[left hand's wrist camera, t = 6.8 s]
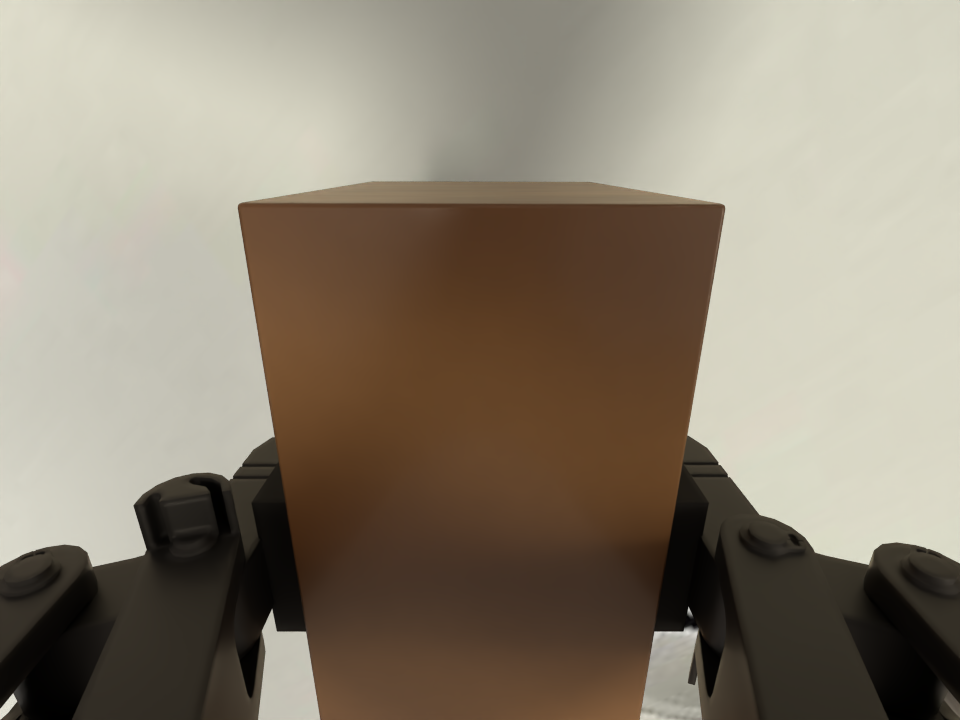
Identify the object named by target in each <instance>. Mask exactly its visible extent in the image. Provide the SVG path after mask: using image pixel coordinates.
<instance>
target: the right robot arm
mask: <svg viewBox="0 0 960 720" xmlns="http://www.w3.org/2000/svg"><path fill="white" fill-rule="evenodd" d="M944 700H945V702H946V703H947V704H948V705H949V707H950V708H951V709H952V710H953V711H954V712H955V713H956V714H957V715H958V716H959V717H960V704H959V702H958V701H957V700H956V699H955V698H954V696H953V695H952V694H951V693H950V692H949V690H948V692H947V695H946V697H945V699H944Z"/></svg>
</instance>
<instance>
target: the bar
mask: <svg viewBox="0 0 960 720" xmlns="http://www.w3.org/2000/svg"><path fill="white" fill-rule="evenodd" d="M238 212H239V218H240V224H241V230H242V237H243V243H244V249H245V255H246V261H247V268H248V274H249V280H250V286H251V292H252V298H253V305H254V311H255V317H256V323H257V329H258V336H259V342H260V348H261V354H262V360H263V367H264V373H265V379H266V385H267V391H268V398H269V404H270V410H271V416H272V422H273V428H274V435H275V441H276V447H277V453H278V459H279V466H280V472H281V478H282V484H283V490H284V497H285V503H286V509H287V515H288V521H289V528H290V534H291V540H292V546H293V552H294V559H295V565H296V571H297V577H298V583H299V589H300V596H301V602H302V608H303V614H304V620H305V627H306V633H307V639H308V645H309V651H310V658H311V664H312V670H313V676H314V682H315V689H316V695H317V701H318V707H319V713H320V719H321V720H639V719H640V713H641V707H642V701H643V695H644V689H645V683H646V678H647V672H648V666H649V660H650V654H651V648H652V642H653V636H654V630H655V624H656V618H657V612H658V606H659V600H660V594H661V588H662V582H663V576H664V570H665V564H666V558H667V552H668V547H669V541H670V535H671V529H672V523H673V517H674V511H675V505H676V499H677V493H678V487H679V481H680V475H681V469H682V463H683V457H684V451H685V445H686V439H687V433H688V427H689V422H690V416H691V410H692V404H693V398H694V392H695V386H696V380H697V374H698V368H699V362H700V356H701V350H702V344H703V338H704V332H705V326H706V320H707V314H708V308H709V302H710V296H711V291H712V285H713V279H714V273H715V267H716V261H717V255H718V249H719V243H720V237H721V231H722V225H723V219H724V213H725V206H724V205H722V204H719V203H713V202H707V201H701V200H695V199H689V198H683V197H677V196H671V195H665V194H659V193H653V192H647V191H641V190H635V189H628V188H622V187H616V186H610V185H604V184H598V183H592V182H367V183H360V184H354V185H348V186H342V187H336V188H330V189H323V190H317V191H311V192H305V193H299V194H293V195H286V196H280V197H274V198H268V199H262V200H255V201H249V202H243V203H240V204H239V205H238Z"/></svg>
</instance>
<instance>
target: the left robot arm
mask: <svg viewBox="0 0 960 720" xmlns="http://www.w3.org/2000/svg"><path fill="white" fill-rule="evenodd" d="M134 509H135V512H136V515H137V519H138V522H139V525H140V529H141V532H142V535H143V538H144V542H145V545H146V548H147V551H146V553H145V555H144V556H140V557H136V558H132V559H128V560H123V561H118V562H114V563H109V564H105V565H100V566H95V567H92V565H91V562H90V559H89V556H88V553H87V552H86V551H84V550H83V549H82V548H81V547H79V546H71V545H59V546H52V547H46V548H42V549H39V550H36V551H32V552H29V553H26V554H24V555H22V556H20V557H18V558H16V559H14V560H12V561H10V562H8V563H6V564H4V565H2V566H1V567H0V708H1V707H2V706H3V705H4V703H5V702H6V701H7V700H8V699H9V697H10V696H11V695H12V694H13V693H14V695H15V697H16V699H17V703H16V704H15V705H14V706H13V708H12V709H11V710H10V711H9V713H8V714H7V715H5V716H4V717H3V718H2V719H1V720H258V714H259V705H260V696H261V687H262V678H263V669H264V660H265V646H264V639H263V635H262V629H263V627H264V625H265V623H266V620H267V618H268V616H269V614H270V612H271V610H272V609H273V614H274V619H275V624H276V629H277V631H306V627H305V620H304V614H303V608H302V602H301V596H300V589H299V583H298V577H297V571H296V565H295V559H294V552H293V546H292V540H291V534H290V528H289V521H288V515H287V509H286V503H285V497H284V490H283V484H282V478H281V472H280V466H279V459H278V453H277V447H276V441H275V437H272V438H271V439H269V440H268V441H266V442H265V443H263V444H262V445H260V446H258V447H257V448H255V449H254V450H253V451H252V452H251V454H250V455H249V456H248V458H247V459H246V460H245V461H244V463H243V464H242V467H240V468H239V469H238V470H237V472H236V473H235V474H234V476H233V479H230V481H228V480H227V479H226V478H225V477H223V476H222V475H217V474H213V473H194V474H189V475H185V476H180V477H176V478H173V479H171V480H168V481H166V482H164V483H161V484H159V485H157V486H155V487H154V488H152V489H151V490H149V491H148V492H146V493H145V494H143V495H142V496H141V497H140V498H139V500H138V501H137V502H136V503H135V504H134ZM688 606H689V608H690V610H691V613H692V615H693V617H694V619H695V621H696V623H697V626H698V628H699V630H698V635H697V639H696V644H695V649H694V653H693V658H692V663H691V667H690V672H689V679H688V683H689V684H693V685H695V682H696V677H697V676H698V686H699V695H700V704H701V713H702V720H960V717H959V716H958V715H957V714H956V713H955V712H954V711H953V710H952V709H951V708H950V707H949V705H948V704H947V703H946V702H945V700H944V699H945V697H946V695H947V692H948V690H949V692H950V693H951V694H952V695H953V696H954V698H955V699H956V700H957V701H958V702H959V704H960V564H959V563H958V562H956V561H954V560H952V559H950V558H948V557H946V556H944V555H942V554H940V553H938V552H936V551H933V550H930V549H926V548H924V547H920V546H916V545H910V544H903V543H889V544H882V545H881V546H879V547H878V548H877V549H875V550H874V552H873V555H872V558H871V561H870V563H869V565H866V564H861V563H857V562H852V561H848V560H843V559H838V558H834V557H829V556H825V555H821V554H818V553H815V552H814V550H813V548H812V547H811V545H810V544H809V543H808V541H807V540H806V539H805V537H803V536H802V535H801V534H799V533H798V532H797V531H796V530H794V529H793V528H792V527H790V526H788V525H786V524H784V523H781V522H779V521H777V520H775V519H772V518H768V517H764V516H761V515H759V514H758V512H757V511H756V510H755V509H754V507H753V506H752V505H751V503H750V502H749V501H748V500H747V498H746V497H745V496H744V495H743V493H742V492H741V491H740V489H739V488H738V487H737V486H736V484H735V483H734V482H733V480H732V479H731V478H730V477H728V474H727V473H726V472H725V470H724V469H723V468H722V466H721V465H718V461H717V460H716V459H715V457H714V456H713V455H712V454H711V452H710V451H709V450H708V449H707V448H706V447H705V446H703V445H702V444H700V443H699V442H697V441H696V440H694V439H692V438H691V437H689V436H687V439H686V445H685V451H684V457H683V463H682V469H681V475H680V481H679V487H678V493H677V499H676V505H675V511H674V517H673V523H672V529H671V535H670V541H669V547H668V552H667V558H666V564H665V570H664V576H663V582H662V588H661V594H660V600H659V606H658V612H657V618H656V624H655V630H654V631H684V626H685V621H686V616H687V611H688Z"/></svg>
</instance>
